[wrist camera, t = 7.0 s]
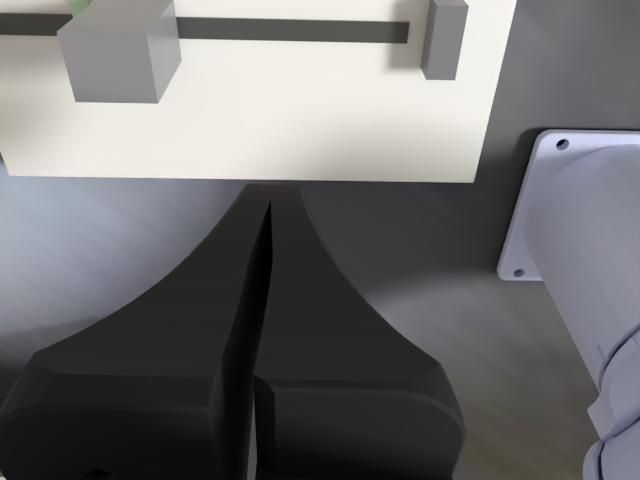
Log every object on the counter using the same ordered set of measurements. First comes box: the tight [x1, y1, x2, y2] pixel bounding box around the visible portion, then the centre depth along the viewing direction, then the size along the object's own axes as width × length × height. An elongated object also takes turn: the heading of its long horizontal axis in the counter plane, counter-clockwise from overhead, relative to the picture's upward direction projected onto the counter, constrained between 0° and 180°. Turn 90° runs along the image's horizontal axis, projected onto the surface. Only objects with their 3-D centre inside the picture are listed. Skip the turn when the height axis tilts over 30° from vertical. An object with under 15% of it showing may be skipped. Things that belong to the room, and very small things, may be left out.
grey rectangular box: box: [57, 0, 182, 104], centre depth 16 cm, size 2×2×4 cm
